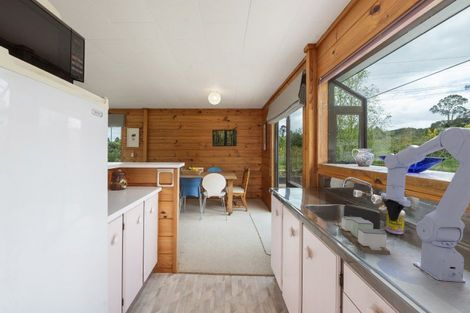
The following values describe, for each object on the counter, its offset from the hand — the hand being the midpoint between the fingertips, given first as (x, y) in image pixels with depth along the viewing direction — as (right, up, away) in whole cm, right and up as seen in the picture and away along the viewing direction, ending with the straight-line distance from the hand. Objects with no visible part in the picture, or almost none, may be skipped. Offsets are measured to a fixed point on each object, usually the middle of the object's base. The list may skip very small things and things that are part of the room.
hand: (393, 220), depth 86 cm
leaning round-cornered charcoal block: (-1, -9, +20) cm, 23 cm away
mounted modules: (-10, -8, +4) cm, 13 cm away
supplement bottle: (+12, -10, +16) cm, 22 cm away
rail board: (-10, -9, +4) cm, 14 cm away
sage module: (-10, -8, +4) cm, 13 cm away
